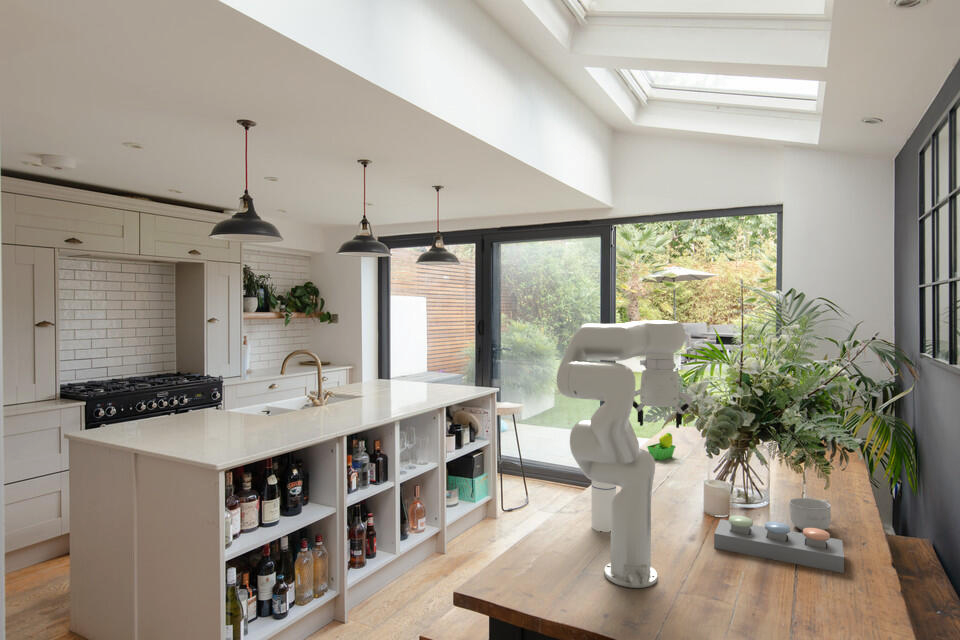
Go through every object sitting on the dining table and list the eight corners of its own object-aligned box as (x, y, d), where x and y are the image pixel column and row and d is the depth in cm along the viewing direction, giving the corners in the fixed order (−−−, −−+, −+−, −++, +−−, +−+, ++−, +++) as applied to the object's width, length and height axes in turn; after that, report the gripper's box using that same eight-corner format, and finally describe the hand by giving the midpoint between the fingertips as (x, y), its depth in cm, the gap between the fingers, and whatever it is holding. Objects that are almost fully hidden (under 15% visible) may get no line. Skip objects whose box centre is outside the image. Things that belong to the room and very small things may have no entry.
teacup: (809, 538, 164) (809, 510, 164) (780, 524, 174) (780, 497, 174) (848, 532, 168) (848, 505, 168) (817, 519, 178) (817, 493, 178)
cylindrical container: (588, 529, 171) (588, 445, 170) (595, 521, 177) (595, 440, 176) (612, 533, 167) (612, 448, 167) (618, 525, 174) (618, 442, 173)
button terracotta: (829, 545, 152) (829, 530, 152) (829, 554, 146) (829, 538, 146) (802, 540, 155) (803, 526, 155) (802, 549, 149) (802, 533, 149)
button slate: (790, 538, 156) (790, 524, 156) (789, 546, 151) (789, 531, 151) (765, 534, 159) (765, 519, 159) (763, 542, 154) (764, 527, 154)
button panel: (842, 554, 153) (842, 540, 153) (843, 573, 142) (844, 557, 142) (720, 532, 168) (720, 519, 168) (714, 547, 158) (714, 533, 157)
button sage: (753, 532, 161) (753, 517, 161) (751, 539, 156) (751, 525, 155) (730, 528, 164) (730, 514, 164) (727, 535, 159) (727, 521, 158)
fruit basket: (661, 453, 257) (661, 428, 257) (679, 457, 250) (679, 431, 250) (646, 458, 250) (646, 432, 250) (664, 462, 243) (664, 435, 243)
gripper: (626, 365, 160) (626, 426, 160) (692, 367, 154) (692, 431, 154) (628, 362, 167) (629, 421, 167) (692, 364, 161) (692, 425, 162)
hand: (659, 425), depth 161 cm, fingers open, 9 cm apart
